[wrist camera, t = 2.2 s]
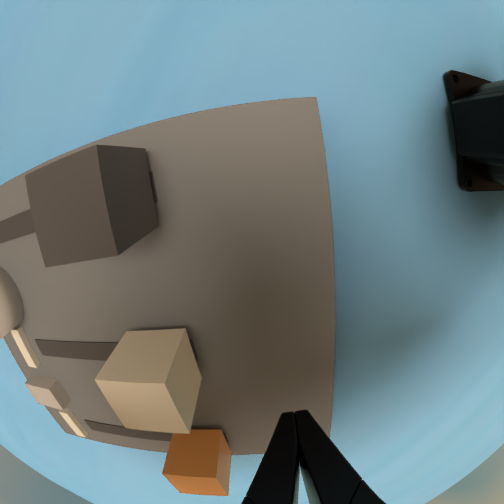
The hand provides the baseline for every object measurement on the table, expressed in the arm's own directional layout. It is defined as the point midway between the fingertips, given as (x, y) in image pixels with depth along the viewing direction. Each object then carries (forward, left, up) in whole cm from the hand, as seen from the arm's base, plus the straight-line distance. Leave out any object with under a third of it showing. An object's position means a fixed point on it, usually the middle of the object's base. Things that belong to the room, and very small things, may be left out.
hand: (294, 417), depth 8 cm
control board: (+9, 0, -6) cm, 10 cm away
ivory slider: (+6, 0, -4) cm, 7 cm away
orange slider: (+6, +8, -4) cm, 10 cm away
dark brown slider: (+6, -7, -4) cm, 10 cm away
